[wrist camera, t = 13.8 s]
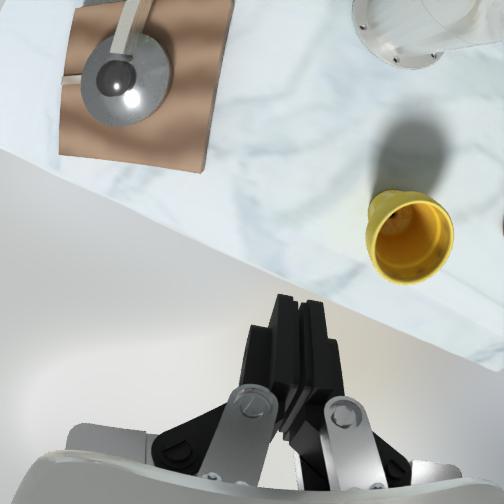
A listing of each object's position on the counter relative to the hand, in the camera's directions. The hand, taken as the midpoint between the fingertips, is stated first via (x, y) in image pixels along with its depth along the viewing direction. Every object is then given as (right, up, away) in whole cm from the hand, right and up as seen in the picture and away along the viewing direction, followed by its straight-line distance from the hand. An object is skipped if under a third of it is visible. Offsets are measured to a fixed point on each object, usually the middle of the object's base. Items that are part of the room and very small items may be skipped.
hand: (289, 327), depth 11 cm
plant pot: (+17, +8, +27) cm, 33 cm away
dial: (-15, +28, +18) cm, 36 cm away
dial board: (-16, +25, +22) cm, 37 cm away
